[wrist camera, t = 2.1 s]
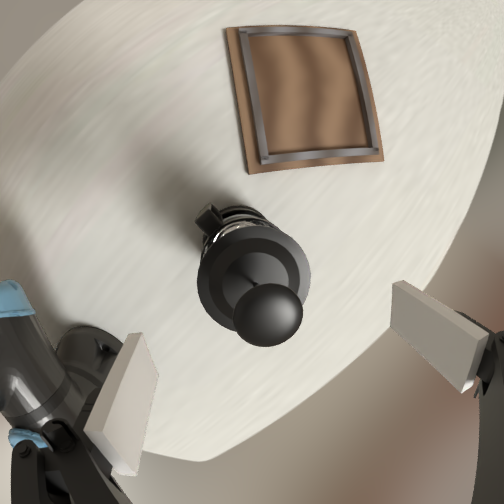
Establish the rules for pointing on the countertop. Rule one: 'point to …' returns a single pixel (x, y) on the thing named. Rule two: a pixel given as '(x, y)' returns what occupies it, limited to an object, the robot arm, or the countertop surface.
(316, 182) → the countertop surface
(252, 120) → the serving board
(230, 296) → the french press
